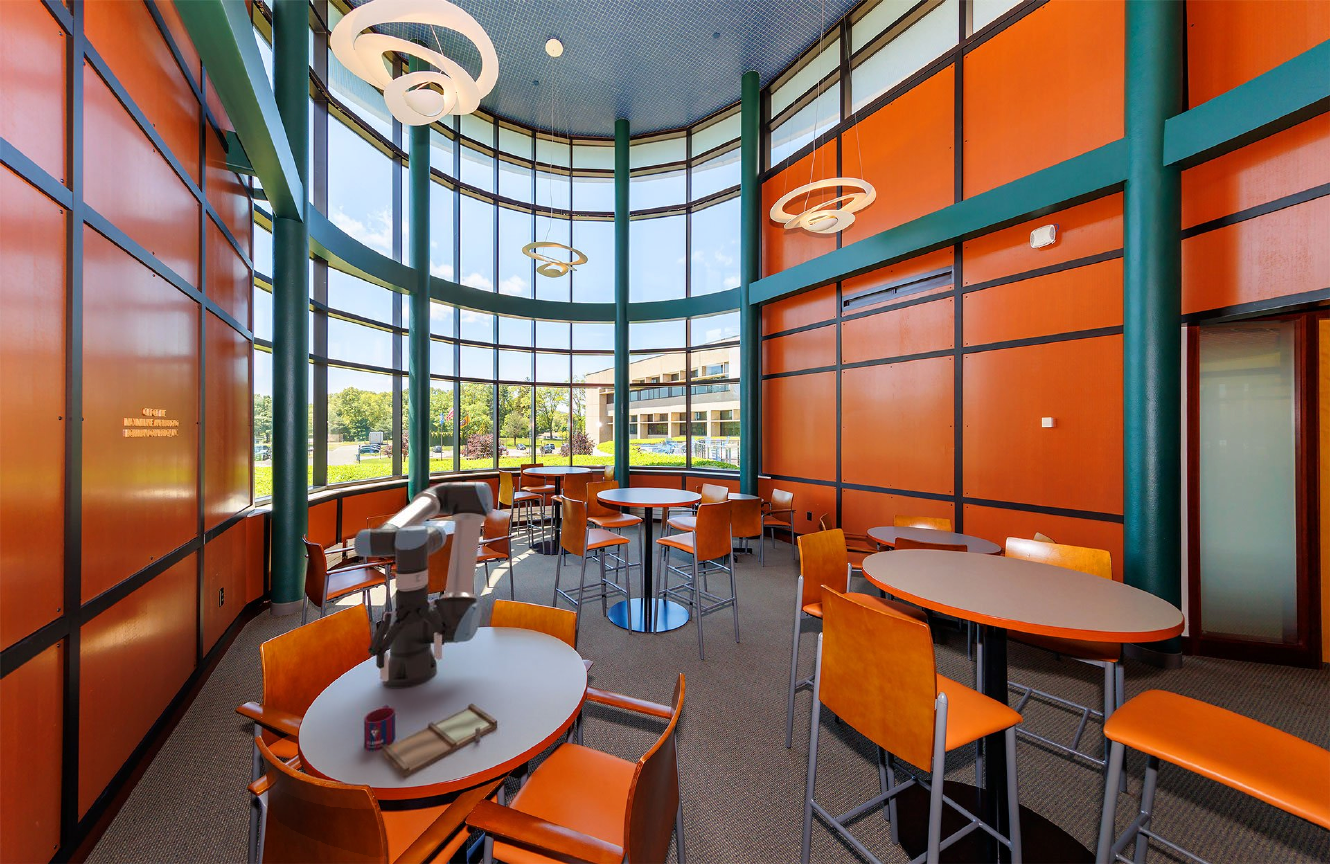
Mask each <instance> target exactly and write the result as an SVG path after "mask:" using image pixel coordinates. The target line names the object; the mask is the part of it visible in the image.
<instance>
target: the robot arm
mask: <svg viewBox="0 0 1330 864" xmlns="http://www.w3.org/2000/svg"><path fill="white" fill-rule="evenodd" d="M493 495H494V494H493V491H492V488H491V486H490V485H489V483H487V482H484V481H463V482H461V481H459V482H458V481H457V482H456V481H455V482H441V483H437V484H435V485H432V486H430V487H428V488H426V489H424V490H421V491H420V492H419V493H418V494H416V495H415V496H413V498H412V500H411V502H410V503H409V504H407V505H406V506H404V507H403V508H402V509H401V510H400V511H398V512H397V513H395V514H394V515H393V516H391V517H389V519H387V520H386V521H385V522H383V523H382V524H381V525H379V526H378V527H376V528H368V529H361V530H360V531H358V533H357V534H356V536H355V538H354V542H353V546H354V552H355V554H356V555H357V556H358V557H370V558H376V557H379V558H381V557H395V588H396V590H395V607H394V608H393V610H392V611H385V610H384V611H383V612H382V614H381V619H380V620H381V621H380V623H379V625H378V627H377V630H376V632H375V634H374V636H373V638H372V640H371V642H370V644H369V647H368V649H367V653H368V654H369V655H371V656H372V657H375V658H376V659H375V660H376V663H375V664H376V668H378V669H379V672H380V673H379V675H380V676H379V677H380V678H379V679H380V680H382V681H383V685H384V686H385V687H387V688H390V689H404V688H409V687H413V686H417V685H420V684H423V683H425V682H427V681H428V680H430V679H432V678H433V677H435V675H436V673H437V672H438V663H437V660H438V661H439V660H442V659H443V646H444V645H445V644H448V643H449V644H450V643H451V644H452V643H455V644H458V643H462V642H468V641H471V640H472V639H473V638H474V637H475V636H476V633H477V632H478V629H479V626H480V622H481V618H482V605H481V603H478V602H477V601H478V599H477V598H478V597H476V595H475V594H474V585H475V576H476V569H477V561H478V552H479V546H480V545H479V544H480V536H481V527H482V524H483V523H484V522H486V520H487V516H488V515H490V514H492V512H493V510H494V498H493V497H494V496H493ZM440 515H443V516H444V515H445V516H448V515H451V519H452V521H453V522H454V523H455V524H454V530H453V537H452V543H451V550H450V559H449V564H448V570H447V578H446V586H445V592H444V594H442V595H441V596H440V597H439V598H437V597H432V598H431V599H429V585H428V583H429V556H431V555H433V554H434V553H437V552H438V551H439V550H441V548H443V547H444V545H445V544H446V541H447V533H446V531H445V530H444V528H443V527H441V526H440V525H436V524H432V525H427V526H425V525H423V523H425V522H426V521H427V520H429V519H432V518H435V517H436V516H440ZM388 630H389V631H388ZM432 644H433V650H432ZM388 649H389V653H387V651H388Z"/></svg>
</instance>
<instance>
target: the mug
mask: <svg viewBox="0 0 1330 864" xmlns="http://www.w3.org/2000/svg"><path fill="white" fill-rule="evenodd" d="M363 719H364V721H363V722H364V723H363V724H364V725H363V728H364V729H363V730H364V731H363V734H364V735H363V740H364V741H363V742H364V743H363V744H364V745H363V747H364V749H365V750H366V751H371V752H372V751H379V750H382V746H383V745H385V744H387V745H388V746H390V745H392V743H393V742H394V741H395V739H396V709H395V708H393V707H390V706H389V705H388V704H385V705H384V706H382V707H381V708H378V709H375V710H373V711H370V712H369V713H368V714H366V716H365V717H364V718H363Z"/></svg>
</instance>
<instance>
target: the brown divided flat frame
mask: <svg viewBox="0 0 1330 864" xmlns="http://www.w3.org/2000/svg"><path fill="white" fill-rule="evenodd" d="M427 724H428V725H427V727H425V728H423V729H421V730H420V731H419V730H418V731H417V732H415V733H413V734H411V735H409V736H407V737H405V738H403V739H401V740H398V741H396V742H394V743H393V744H392V743H391V744H390V745H387V744H385V745H383V746H382V749H381V754H382V756H384V758H386V759H387V761H389V763H390V764H391V765H392V766H393V767H394V768H395V769H396V770H397V771H398V772H399V774H401V775H402V776H403V778H407V777H409V776H410V775H412V774H414V773H416V772H417V771H419V770H421V769H423V768H425V767H427V766H429V765H430V764H433V763H434V762H436V761H438V760H440V759H442V758H444V757H445V756H447V755H449V754H450V753H451V754H452V753H453V752H454V751H457V750H458V749H460V748H462V747H464V746H466V745H467V744H468V745H469V743H471V742H473V741H475V743H479V742H480V741H481V737H483V736H484V735H486V734H488V733H490V732H492V731H493V730H495V729H497V728H498V720H497V719H495V718H494V717H492V716H491V715H490V714H488V713H487V712H485V711H484V710H482V709H481V708H480V707H478V706H477V705H475V704H474V703H469V704H468V706H467V708H465V709H463V710H461V711H459V712H456V713H454V714H453V715H451V716H448V717H447V718H444V719H442V720H440V721H438V722H436V723H433V722H430V723H427Z"/></svg>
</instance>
